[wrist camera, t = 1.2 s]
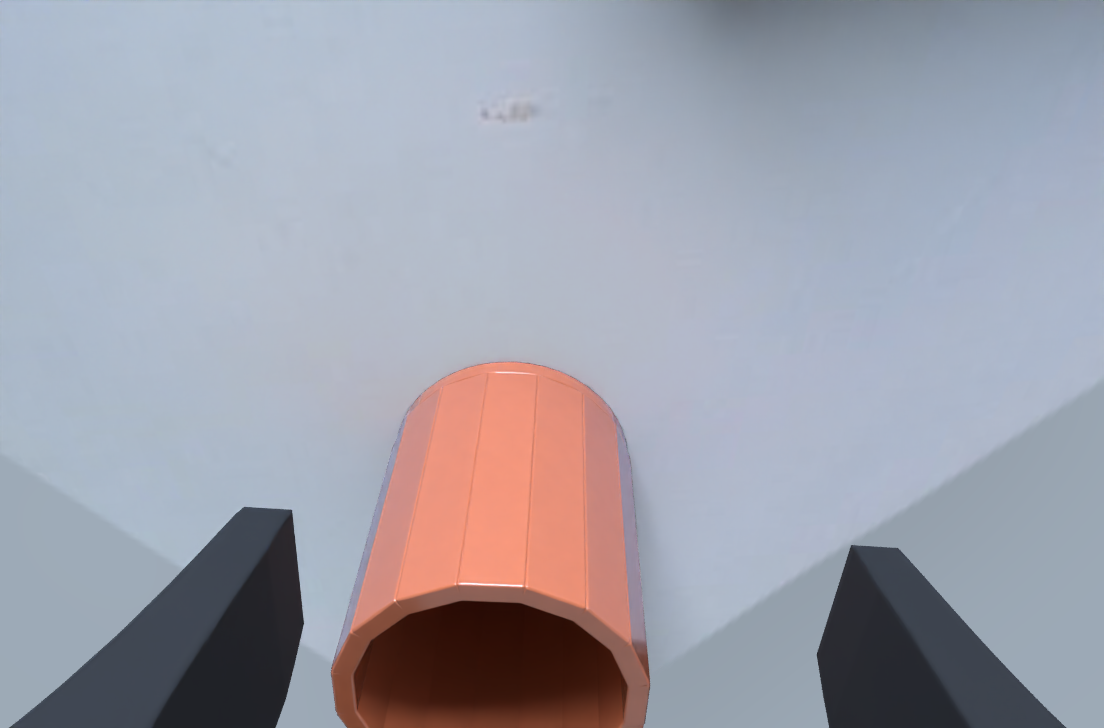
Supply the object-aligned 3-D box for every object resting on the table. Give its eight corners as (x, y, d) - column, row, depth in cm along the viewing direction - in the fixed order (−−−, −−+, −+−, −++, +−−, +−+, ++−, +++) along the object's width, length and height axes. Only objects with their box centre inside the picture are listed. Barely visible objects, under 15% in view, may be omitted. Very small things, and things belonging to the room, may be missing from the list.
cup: (669, 414, 22) (706, 649, 16) (567, 572, 24) (565, 825, 18) (446, 325, 20) (394, 541, 14) (365, 501, 23) (293, 745, 17)
